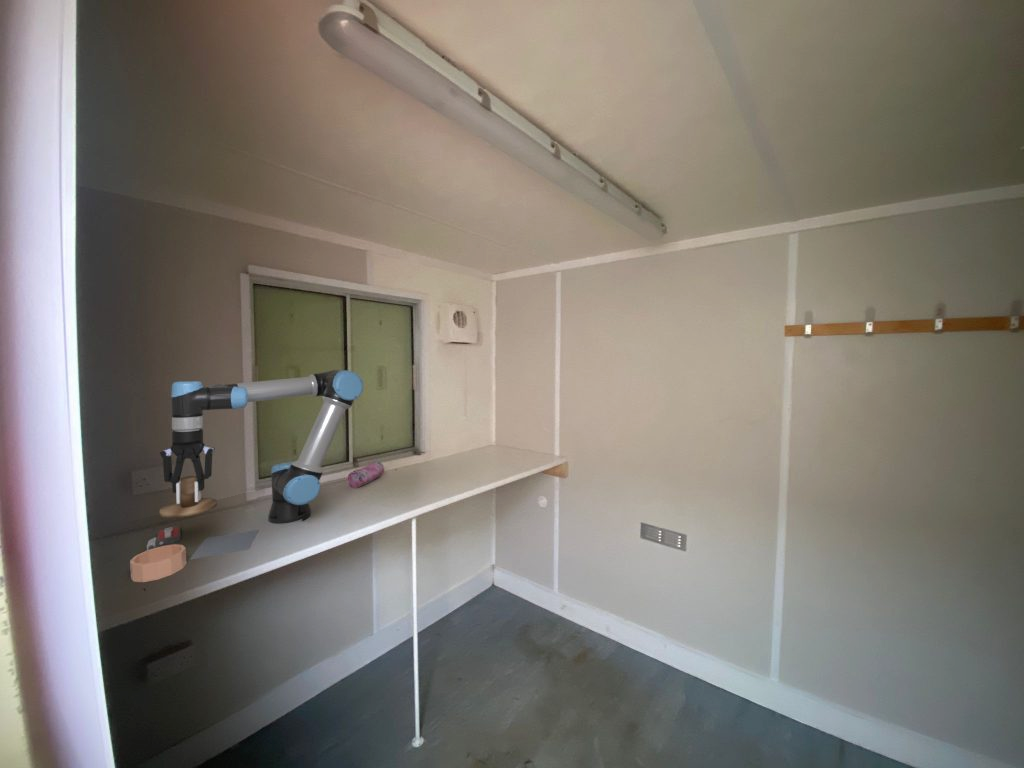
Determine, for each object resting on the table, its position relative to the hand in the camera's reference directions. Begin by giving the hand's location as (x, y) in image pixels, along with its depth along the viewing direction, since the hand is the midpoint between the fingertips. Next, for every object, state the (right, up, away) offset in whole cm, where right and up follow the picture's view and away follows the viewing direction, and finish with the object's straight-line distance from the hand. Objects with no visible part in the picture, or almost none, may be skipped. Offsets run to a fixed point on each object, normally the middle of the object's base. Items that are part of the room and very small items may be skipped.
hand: (188, 501), depth 121 cm
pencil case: (+27, -15, +79) cm, 84 cm away
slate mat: (+5, -19, +10) cm, 22 cm away
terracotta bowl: (-3, -20, -7) cm, 21 cm away
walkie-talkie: (-18, -19, +12) cm, 29 cm away
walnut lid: (0, -3, 0) cm, 3 cm away
